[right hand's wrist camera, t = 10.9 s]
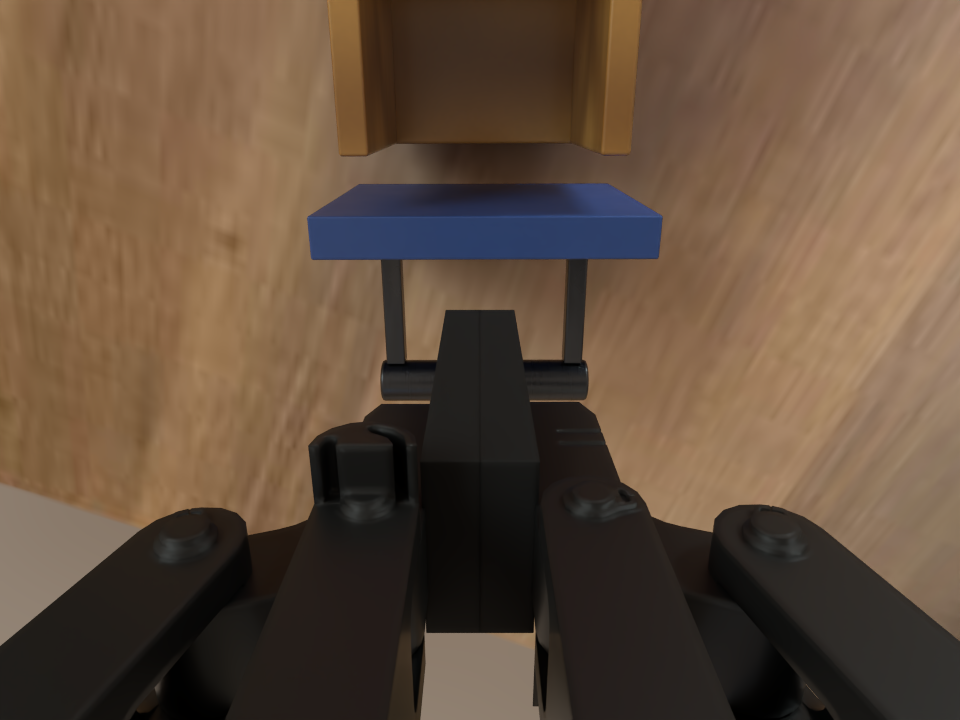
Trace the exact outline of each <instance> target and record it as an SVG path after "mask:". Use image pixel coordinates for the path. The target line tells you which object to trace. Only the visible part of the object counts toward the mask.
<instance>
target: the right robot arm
mask: <svg viewBox="0 0 960 720" xmlns="http://www.w3.org/2000/svg"><path fill="white" fill-rule="evenodd" d="M605 443H606V442H605V439H604V437H603V434H602V433H601V429H600V426H599V423H598V421H597V418H596V415H595V414H594V413H592V412H591V411H590V410H589V409H587V408H586V407H585V406H583V405H582V404H581V403H579V402H530V400H529V394H528V388H527V383H526V377H525V371H524V365H523V359H522V353H521V347H520V341H519V335H518V330H517V324H516V318H515V312H514V310H446V312H445V318H444V324H443V330H442V335H441V341H440V347H439V353H438V359H437V365H436V371H435V377H434V383H433V388H432V394H431V400H430V404H381V405H380V406H378V407H377V408H376V409H374V410H373V411H372V412H371V413H369V414H368V415H367V416H365V418H364V421H363V422H358V423H349V424H346V425H342V426H338V427H335V428H332V429H330V430H328V431H326V432H324V433H322V434H320V435H318V436H317V437H316V438H315V439H314V440H313V441H312V442H311V443H310V444H309V446H308V447H309V457H310V466H311V475H312V485H313V494H314V503H315V504H314V506H313V509H312V511H311V513H310V516H309V518H308V520H306V521H304V522H301V523H299V524H296V525H293V526H289V527H286V528H282V529H278V530H273V531H268V532H263V533H258V534H253V535H248V534H247V527H246V522H245V521H244V520H243V519H242V518H241V517H240V516H239V515H238V514H237V513H235V512H232V511H229V510H226V509H223V508H192V509H190V510H189V509H186V510H182V511H178V512H175V513H174V514H171V515H168V516H166V517H163V518H161V519H158V520H156V521H154V522H153V523H151V524H150V525H148V526H146V527H145V528H143V529H142V530H140V531H139V532H137V533H136V534H135V535H134V536H133V537H131V538H130V539H129V540H128V541H127V542H125V543H124V544H123V545H122V546H121V547H119V548H118V549H117V550H116V551H114V552H113V553H112V554H111V555H110V556H108V557H107V558H106V559H105V560H104V561H102V562H101V563H100V564H99V565H98V566H96V567H95V568H94V569H93V570H92V571H90V572H89V573H88V574H87V575H85V576H84V577H83V578H82V579H81V580H80V581H78V582H77V583H76V584H75V585H74V586H72V587H71V588H70V589H69V590H67V591H66V592H65V593H64V594H63V595H61V596H60V597H59V598H58V599H57V600H55V601H54V602H53V603H52V604H51V605H49V606H48V607H47V608H46V609H44V610H43V611H42V612H41V613H40V614H38V615H37V616H36V617H35V618H34V619H32V620H31V621H30V622H29V623H28V624H26V625H25V626H24V627H23V628H22V629H20V630H19V631H18V632H17V633H16V634H14V635H13V636H12V637H11V638H9V639H8V640H7V641H6V642H5V643H3V644H2V645H1V646H0V720H420V716H421V705H422V694H423V684H424V674H425V639H424V632H425V623H426V632H427V633H534V619H535V629H536V639H535V665H534V690H533V706H539V715H540V720H960V641H959V640H957V639H956V638H955V637H954V636H953V635H951V634H950V633H949V632H948V631H946V630H945V629H944V628H943V627H942V626H940V625H939V624H938V623H937V622H935V621H934V620H933V619H932V618H931V617H929V616H928V615H927V614H926V613H925V612H923V611H922V610H921V609H920V608H918V607H917V606H916V605H915V604H914V603H912V602H911V601H910V600H909V599H907V598H906V597H905V596H904V595H903V594H901V593H900V592H899V591H898V590H897V589H895V588H894V587H893V586H892V585H890V584H889V583H888V582H887V581H886V580H884V579H883V578H882V577H881V576H879V575H878V574H877V573H876V572H875V571H873V570H872V569H871V568H870V567H869V566H867V565H866V564H865V563H864V562H862V561H861V560H860V559H859V558H858V557H856V556H855V555H854V554H853V553H851V552H850V551H849V550H848V549H847V548H845V547H844V546H843V545H842V544H841V543H839V542H838V541H837V540H836V539H834V538H833V537H832V536H831V535H830V534H828V533H827V532H826V531H825V530H823V529H822V528H821V527H819V526H818V525H816V524H814V523H813V522H811V521H810V520H808V519H806V518H805V517H803V516H800V515H798V514H795V513H792V512H790V511H787V510H785V509H783V508H779V507H774V506H772V507H770V506H769V505H738V506H735V507H732V508H729V509H725V510H723V511H722V512H721V513H720V514H719V515H718V516H717V517H716V518H715V521H714V527H713V533H712V532H707V531H702V530H697V529H692V528H687V527H681V526H678V525H674V524H670V523H666V522H663V521H661V520H659V519H656V518H654V517H651V515H650V512H649V510H648V508H647V505H646V503H645V501H644V500H643V499H642V498H641V496H640V495H639V494H638V492H637V491H635V490H633V489H632V488H630V487H628V486H627V485H625V484H624V483H621V482H620V479H619V476H618V474H617V471H616V468H615V466H614V463H613V460H612V458H611V455H610V453H609V450H608V447H607V445H606V444H605ZM806 684H807V685H806ZM808 687H809V688H810V689H811V690H812V691H813V692H812V691H811V690H810V689H809V688H808ZM814 694H815V695H816V696H817V697H818V698H819V699H820V700H819V699H818V698H817V697H816V696H815V695H814Z"/></svg>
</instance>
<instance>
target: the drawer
mask: <svg viewBox="0 0 960 720" xmlns="http://www.w3.org/2000/svg"><path fill="white" fill-rule="evenodd" d="M327 4H328V17H329V30H330V43H331V56H332V69H333V82H334V95H335V108H336V121H337V134H338V147H339V154H340V156H368V155H370V154H373V153H375V152H377V151H380V150H382V149H384V148H387V147H389V146H391V145H394V144H477V143H573V144H575V145H578V146H581V147H583V148H586V149H588V150H591V151H594V152H596V153H599V154H601V155H604V156H627V155H629V154H630V152H631V140H632V127H633V114H634V101H635V88H636V75H637V62H638V49H639V36H640V24H641V11H642V0H327ZM662 218H663V217H662V216H661V215H660V214H658V213H656V212H655V211H653V210H651V209H650V208H648V207H646V206H645V205H643V204H641V203H640V202H638V201H636V200H634V199H633V198H631V197H629V196H628V195H626V194H624V193H623V192H621V191H619V190H618V189H616V188H614V187H613V186H611V185H609V184H359V185H357V186H356V187H354V188H353V189H351V190H349V191H348V192H346V193H345V194H343V195H341V196H340V197H338V198H337V199H335V200H334V201H332V202H330V203H329V204H327V205H326V206H324V207H323V208H321V209H319V210H318V211H316V212H315V213H313V214H311V215H310V216H308V218H307V221H308V231H309V241H310V251H311V258H312V259H313V260H381V268H382V285H383V302H384V319H385V337H386V354H387V360H385V361H383V363H382V367H381V394H382V398H383V400H385V401H430V400H431V394H432V388H433V383H434V377H435V371H436V365H437V360H406V358H407V350H406V328H405V307H404V285H403V263H402V260H440V259H566V280H565V302H564V323H563V345H562V358H563V360H523V365H524V371H525V377H526V383H527V388H528V394H529V400H585V399H586V397H587V394H588V384H589V378H588V367H587V363H586V361H585V360H582V351H583V334H584V317H585V299H586V282H587V265H588V259H658V257H659V249H660V239H661V229H662Z"/></svg>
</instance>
